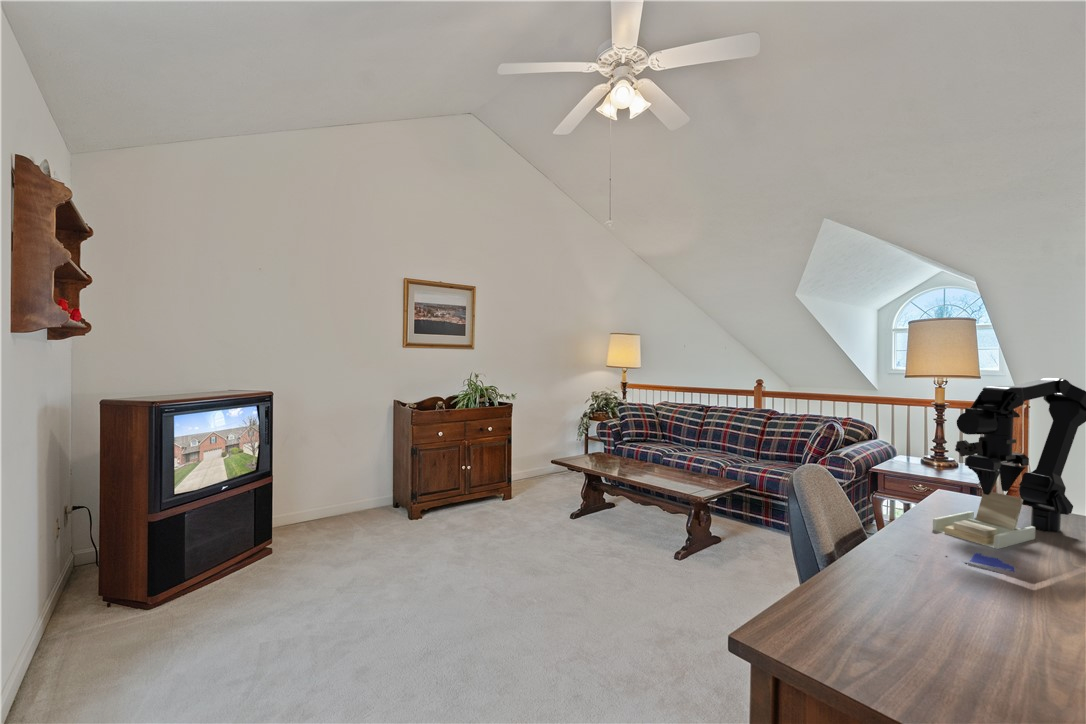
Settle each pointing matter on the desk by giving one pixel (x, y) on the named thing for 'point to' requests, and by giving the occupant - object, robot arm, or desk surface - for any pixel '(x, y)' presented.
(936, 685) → the desk surface
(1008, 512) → the birch sheet
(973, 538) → the offcut bottom
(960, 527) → the offcut top
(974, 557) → the hard drive
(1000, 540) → the rack
